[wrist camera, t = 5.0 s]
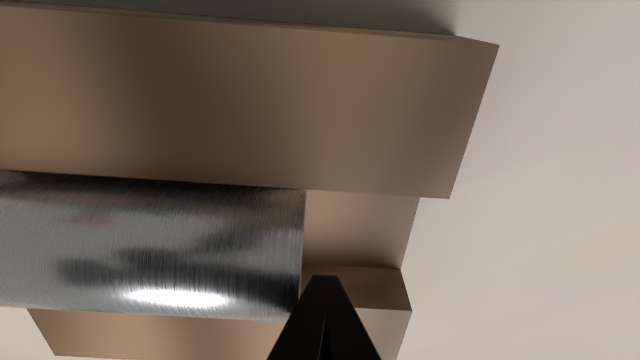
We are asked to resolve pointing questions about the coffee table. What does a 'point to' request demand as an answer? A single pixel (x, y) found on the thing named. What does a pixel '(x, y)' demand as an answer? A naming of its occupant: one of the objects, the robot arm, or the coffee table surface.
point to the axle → (150, 247)
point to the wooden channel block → (243, 143)
